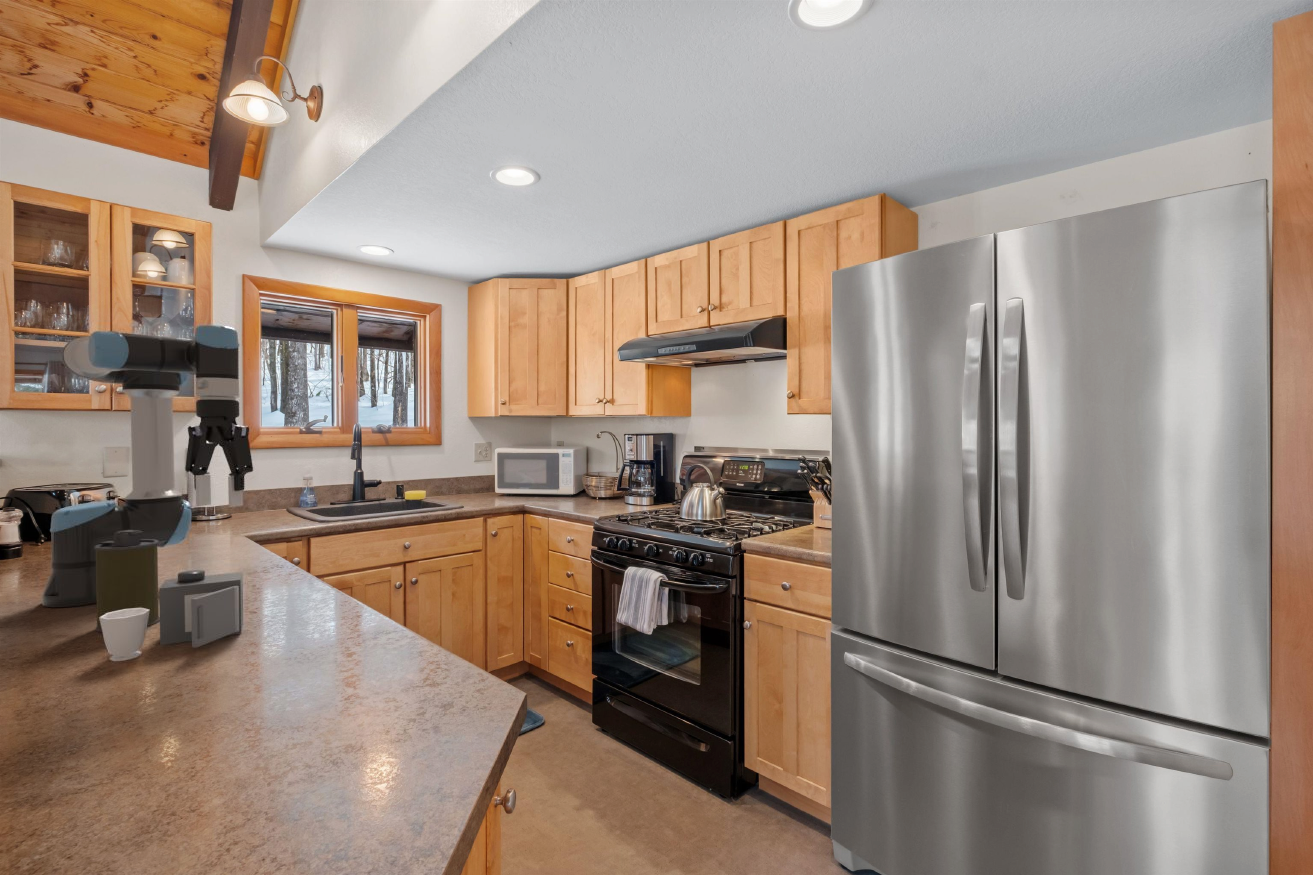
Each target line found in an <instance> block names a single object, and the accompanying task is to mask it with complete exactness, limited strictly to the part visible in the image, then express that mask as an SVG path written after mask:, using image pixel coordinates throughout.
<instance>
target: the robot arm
mask: <svg viewBox="0 0 1313 875" xmlns="http://www.w3.org/2000/svg"><path fill="white" fill-rule="evenodd" d="M239 348H240V343H239V335H238V331H237V329H235V328H233V327H230V326H226V325H214V324H202V325H201V324H200V325H198V326H196V327H195V330H194V337H193V338H184V337H171V336H161V335H160V336H159V335H149V334H138V333H127V332H119V331H115V330H114V331H111V330H109V331H108V330H107V331H103V330H102V331H101V330H96V331H93V332H92V333H91V334H90V336H82V337H77V338H75V339H72V340H71V341H69V342H67V343H66V344H65V345H64V347H63V348H62V351H61V362H62V364H63V365H64V367H65V368H66V370H68V371H69V372H70V373H72V374H74V375H75V376H77V377H80V378H83V379H85V380H89V381H93V382H97V383H103V384H119V385H120V384H121V387H122V388H121V390H122V392H123V393H124V394H125V395H126V396H128V397H129V399H130V430H131V431H130V438H131V440H130V441H131V444H130V445H131V473H132V474H131V476H132V477H131V479H132V483H131V484H132V486H131V488H132V490H131V492H130V493H128V494H127V495H126V496H125V497H124V505H123V504H122V505H117V503H116V502H115V500H103V501H102V500H100V501H93V502H86V503H79V504H75V505H70V506H66V507H62V508H59V509H57V510H56V511H54V512H53V513H52V514H51V521H50V529H49V531H50V533H51V534H50V537H51V542H50V543H51V573H50V575H49V577H48V580H47V583H46V585H45V587H44V590H43V593H42V595H41V596H42V597H41V600H42V601H41V602H42V603H41V604H42V606H43V607H46V608H69V607H71V608H72V607H77V606H85V605H86V606H87V605H92V604H97V593H96V550H95V549H94V547H95V546H96V545H98V544H99V543H101V542H106V541H113V538H114V533H115V532H119V531H125V530H140V531H142V534H141V539H155V540H158V541H159V542H158V544H157V548H164V547H167V546H168V547H169V546H175V545H178V544H180V543H182V542H183V541H184V540H185V539H186V538H187V535H188V534H189V531H190V529H191V524H192V510H191V506H192V505H191V504H190V502H189V501H187V500H186V499H183V494H182V493H181V492H180V491H178V490H177V489H176V488H175V458H174V457H175V452H174V451H175V450H174V449H175V447H174V445H175V444H174V414H173V410H174V409H173V407H174V405H173V399H174V398H175V397H176V396H177V395H178V394H179V393H180V388H181V387H184V386H186V384H187V383H188V379H189V377H188V376H189V375H194V376H195V392H196V393H195V394H196V397H197V398H199V399H197V400H196V401H195V413H196V414H195V415H196V417H198V418H200V422H199V425H189V426H188V427H187V433H188V443H187V449H186V450H187V452H186V460H185V467H184V468H185V469H184V470H185V471H186V473H187V472H188V473H191V474H192V475H193V480H194V481H193V482H194V484H193V486H194V491H195V507H202V506H208V505H211V503H212V498H211V494H212V492H211V489H212V488H211V471H208V469H209V467H210V464H211V461H212V458H213V455H214V453H215V449H216V447H217V446H220V447H221V449H222V451H223V454H224V457H225V459H226V461H227V465H228V468H229V470H230V473H228V476H227V478H228V479H227V482H228V483H227V486H228V487H227V490H228V494H227V495H228V508H235V507H241V506H244V493H243V492H244V490H245V475H247V474H248V473H249V474H250V473H252V472H253V471H254V467H253V466H254V465H253V459H252V452H251V446H250V440H249V432H250V427H249V426H248V425H238V423H237V420H236V419H237V418H238V417H240V401H239V400H237V398H240V380H239V379H240V378H239V376H240V375H239V371H240V370H239V369H240V368H239V367H240V366H239V365H240V364H239V357H240V356H239Z"/></svg>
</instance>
